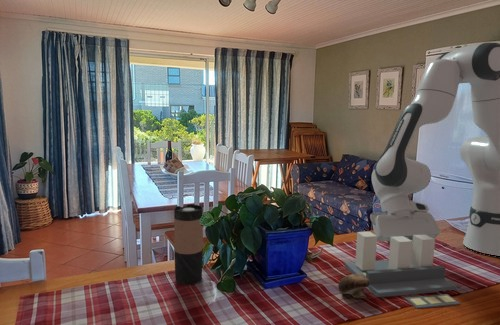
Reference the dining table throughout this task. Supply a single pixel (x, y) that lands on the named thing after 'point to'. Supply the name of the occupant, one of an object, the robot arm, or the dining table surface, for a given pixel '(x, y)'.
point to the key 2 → (422, 251)
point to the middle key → (399, 252)
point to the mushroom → (354, 285)
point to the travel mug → (188, 244)
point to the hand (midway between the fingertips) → (415, 252)
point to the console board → (403, 279)
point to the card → (432, 301)
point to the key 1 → (366, 250)
